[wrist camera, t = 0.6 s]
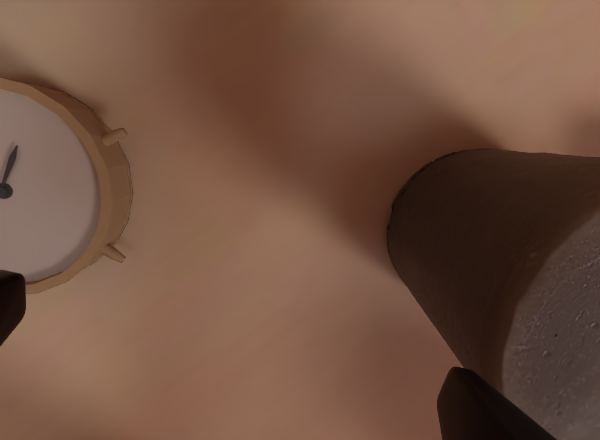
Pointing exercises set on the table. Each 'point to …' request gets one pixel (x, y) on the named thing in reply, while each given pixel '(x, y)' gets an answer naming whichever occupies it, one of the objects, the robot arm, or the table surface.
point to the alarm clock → (58, 185)
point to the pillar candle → (511, 275)
